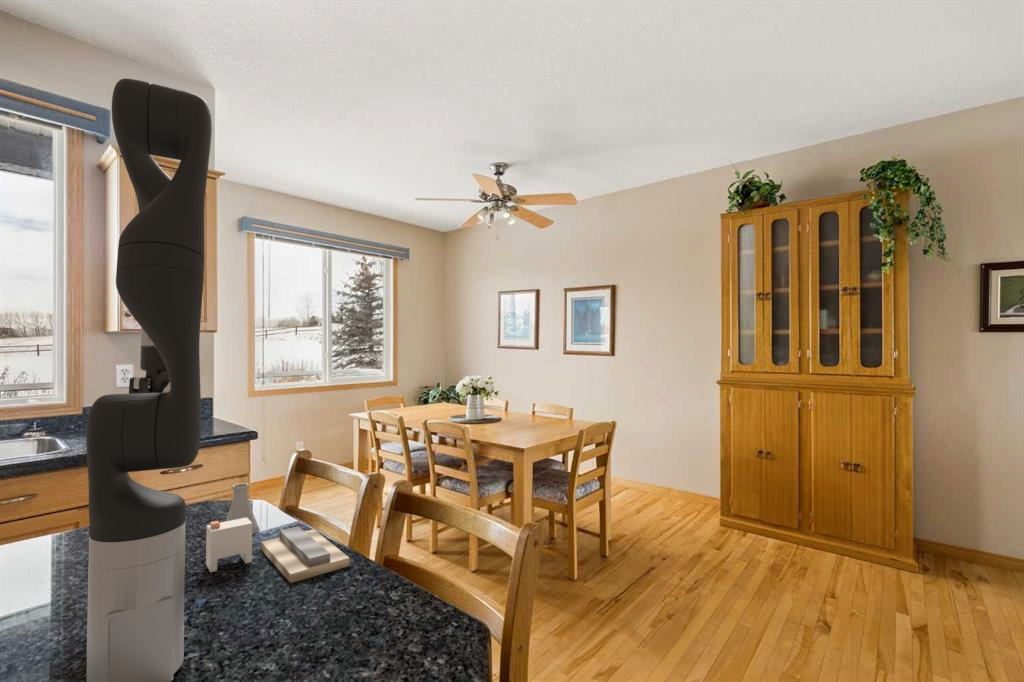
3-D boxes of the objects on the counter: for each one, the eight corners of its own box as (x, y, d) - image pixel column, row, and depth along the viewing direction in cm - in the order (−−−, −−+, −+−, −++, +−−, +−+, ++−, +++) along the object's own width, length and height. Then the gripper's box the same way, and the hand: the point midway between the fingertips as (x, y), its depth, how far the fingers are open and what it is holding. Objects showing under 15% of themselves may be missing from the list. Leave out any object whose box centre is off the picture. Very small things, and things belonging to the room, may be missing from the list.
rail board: (349, 566, 88) (349, 549, 88) (290, 583, 82) (290, 564, 82) (313, 536, 102) (313, 522, 102) (260, 549, 96) (261, 533, 96)
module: (251, 562, 90) (252, 518, 90) (210, 572, 86) (211, 526, 86) (246, 554, 93) (246, 513, 93) (206, 564, 89) (206, 520, 89)
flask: (222, 529, 106) (222, 482, 106) (260, 524, 109) (260, 479, 109) (218, 542, 99) (218, 491, 99) (258, 536, 102) (259, 487, 102)
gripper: (157, 343, 84) (155, 439, 83) (210, 345, 98) (209, 427, 98) (114, 343, 84) (112, 439, 84) (173, 345, 98) (172, 427, 98)
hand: (164, 433), depth 91 cm, fingers open, 8 cm apart
